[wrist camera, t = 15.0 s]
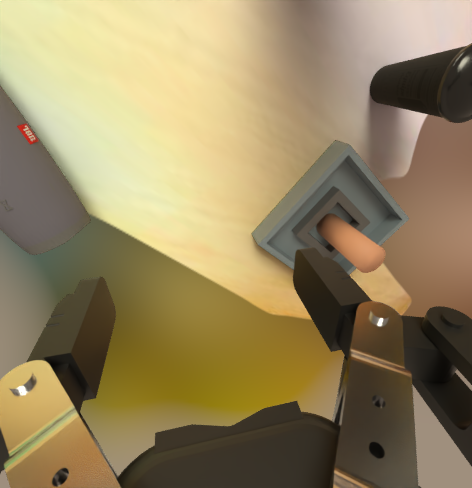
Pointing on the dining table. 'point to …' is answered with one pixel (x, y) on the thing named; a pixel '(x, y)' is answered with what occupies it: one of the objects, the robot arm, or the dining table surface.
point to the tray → (330, 208)
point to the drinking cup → (429, 85)
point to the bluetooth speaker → (33, 188)
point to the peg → (351, 243)
